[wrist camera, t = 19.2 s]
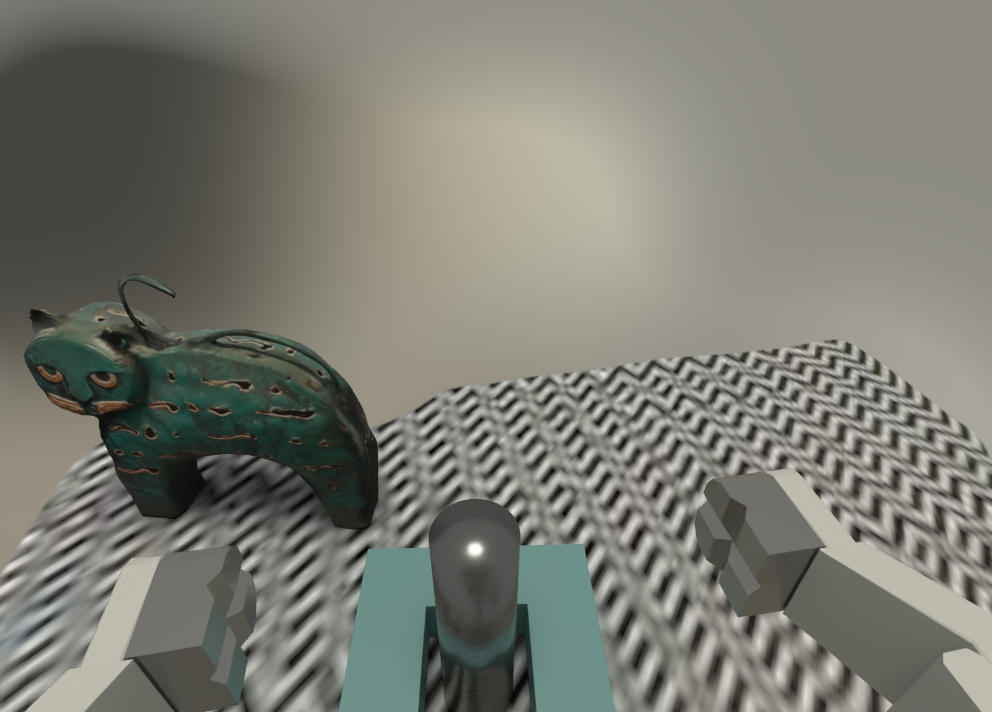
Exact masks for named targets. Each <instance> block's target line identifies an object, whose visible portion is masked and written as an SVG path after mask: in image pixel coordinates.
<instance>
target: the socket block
mask: <svg viewBox="0 0 992 712" xmlns="http://www.w3.org/2000/svg"><path fill="white" fill-rule="evenodd" d="M515 635H525V640H526V653H527V666H528V679H529V691H530V704H531V712H615V706H614V701H613V696H612V691H611V686H610V680H609V675H608V670H607V665H606V659H605V654H604V649H603V644H602V639H601V633H600V628H599V623H598V618H597V612H596V607H595V602H594V597H593V592H592V586H591V581H590V576H589V571H588V565H587V560H586V555H585V550H584V545H583V544H574V545H531V546H520V555H519V575H518V594H517V614H516V633H515ZM429 637H438V627H437V617H436V607H435V597H434V588H433V578H432V568H431V558H430V548H400V549H368V553H367V559H366V564H365V570H364V575H363V581H362V586H361V592H360V597H359V603H358V608H357V614H356V619H355V625H354V630H353V636H352V641H351V647H350V652H349V658H348V663H347V669H346V674H345V680H344V685H343V691H342V696H341V702H340V707H339V712H425V698H426V683H427V668H428V652H429Z"/></svg>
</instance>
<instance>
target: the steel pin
mask: <svg viewBox="0 0 992 712" xmlns="http://www.w3.org/2000/svg"><path fill="white" fill-rule="evenodd" d="M429 548H430V558H431V568H432V578H433V588H434V597H435V607H436V617H437V627H438V637H439V647H440V656H441V666H442V676H443V686H444V695H445V700H446V703H447V705H448V707H449V709H450V711H451V712H505V710H506V709H507V707H508V705H509V703H510V701H511V697H512V691H513V672H514V653H515V633H516V614H517V594H518V575H519V555H520V529H519V526H518V523H517V521H516V519H515V518H514V516H513V515H512V514H511V513H510V512H509V511H508V510H507V509H506V508H504V507H503V506H501V505H499V504H497V503H494V502H492V501H488V500H483V499H469V500H463V501H460V502H457V503H454V504H452V505H450V506H448V507H447V508H445V509H444V510H443V511H442V512H441V513H440V514H439V515H438V516H437V517H436V518H435V520H434V521H433V523H432V525H431V528H430V532H429Z"/></svg>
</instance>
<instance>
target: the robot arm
mask: <svg viewBox="0 0 992 712" xmlns="http://www.w3.org/2000/svg"><path fill="white" fill-rule="evenodd" d="M704 495H705V496H706V498H707V500H708V501H707V502H706V503H704V504H703V505H702V506H701V507H700V508H699V509H698V511H697V515H696V519H695V529H696V537H697V540H698V543H699V546H700V548H701V550H702V552H703V554H704V556H705V558H706V560H707V561H709V562H710V563H712V564H713V565H714V566H716V567H717V568H719V569H720V570H721V572H720V578H719V584H720V585H721V587H722V589H723V591H724V593H725V594H726V596H727V598H728V600H729V602H730V604H731V605H732V607H733V609H734V611H735V613H736V614H737V616H738V617H743V616H750V615H757V614H764V613H771V612H778V611H784V612H783V614H784V615H786V616H787V617H788V618H789V619H790V620H792V621H793V622H794V623H795V624H796V625H798V626H799V627H800V628H801V629H802V630H804V631H805V632H806V633H807V634H809V635H810V636H811V637H812V638H813V639H815V640H816V641H817V642H818V643H819V644H821V645H822V646H823V647H824V648H825V649H827V650H828V651H829V652H830V653H831V654H833V655H834V656H835V657H836V658H837V659H839V660H840V661H841V662H842V663H843V664H845V665H846V666H847V667H848V668H849V669H851V670H852V671H853V672H854V673H856V674H857V675H858V676H859V677H860V678H862V679H863V680H864V681H865V682H866V683H868V684H869V685H870V686H871V687H872V688H874V689H875V690H876V691H877V692H878V693H880V694H881V695H882V696H883V697H884V698H886V699H887V700H888V701H889V702H890V703H892V704H893V706H892V707H891V708H890V709H889V710H888V711H887V712H992V614H990V613H989V612H987V611H985V610H983V609H982V608H980V607H978V606H976V605H975V604H973V603H971V602H969V601H967V600H966V599H964V598H962V597H960V596H959V595H957V594H955V593H953V592H952V591H950V590H948V589H946V588H945V587H943V586H941V585H939V584H937V583H936V582H934V581H932V580H930V579H929V578H927V577H925V576H923V575H922V574H920V573H918V572H916V571H915V570H913V569H911V568H909V567H907V566H906V565H904V564H902V563H900V562H899V561H897V560H895V559H893V558H892V557H890V556H888V555H886V554H885V553H883V552H881V551H879V550H877V549H876V548H874V547H872V546H870V545H869V544H867V543H865V542H857V543H856V542H855V541H854V540H853V539H852V537H851V536H850V535H849V534H848V533H847V531H846V530H845V529H844V528H843V526H842V525H841V524H840V523H839V522H838V520H837V519H836V518H835V517H834V516H833V514H832V513H831V512H830V511H829V509H828V508H827V507H826V506H825V505H824V503H823V502H822V501H821V500H820V499H819V497H818V496H817V495H816V494H815V493H814V491H813V490H812V489H811V488H810V486H809V485H808V484H807V483H806V482H805V480H804V479H803V478H802V477H801V476H800V474H799V473H797V472H796V471H794V470H792V469H781V470H774V471H768V472H756V473H749V474H743V475H736V476H730V477H723V478H717V479H712V480H711V481H709V482H708V483H707V485H706V487H705V490H704ZM242 560H243V557H242V555H241V553H240V551H239V549H238V547H237V546H230V547H221V548H212V549H204V550H195V551H186V552H178V553H169V554H160V555H153V556H145V557H137V558H131V560H130V561H129V562H128V563H127V564H126V565H125V566H124V568H123V569H122V571H121V573H120V575H119V577H118V580H117V582H116V584H115V587H114V589H113V591H112V594H111V596H110V598H109V601H108V603H107V605H106V608H105V610H104V612H103V615H102V617H101V619H100V622H99V624H98V626H97V628H96V631H95V633H94V635H93V638H92V640H91V642H90V645H89V647H88V649H87V652H86V654H85V656H84V659H83V661H82V663H81V666H80V667H78V668H72V669H68V670H67V671H66V672H65V673H64V674H63V675H62V676H61V677H60V678H59V679H58V680H57V681H56V682H55V683H54V684H53V685H52V686H51V687H50V688H49V689H48V690H47V691H46V692H45V693H44V694H42V695H41V696H40V697H39V698H38V699H37V700H36V701H35V702H34V703H33V704H32V705H31V706H30V707H29V708H28V709H27V710H26V711H25V712H206V711H211V710H216V709H221V708H226V707H231V706H235V705H239V701H240V696H241V691H242V686H243V681H244V676H245V671H246V666H247V661H248V660H247V658H246V656H245V654H244V652H243V650H242V649H241V646H242V645H243V644H244V642H245V641H246V640H247V639H248V637H249V636H250V635H251V634H252V633H253V629H254V623H255V618H256V590H255V585H254V582H253V579H252V577H251V575H250V574H249V573H247V572H245V571H243V570H241V564H242Z"/></svg>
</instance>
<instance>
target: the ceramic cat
mask: <svg viewBox="0 0 992 712" xmlns="http://www.w3.org/2000/svg"><path fill="white" fill-rule="evenodd" d="M129 280H132V281H139V282H142V283H144V284H147V285H149V286H152V287H153V288H156V289H158V290H160V291H162V292H164V293H166V294H169V295H170V296H172V297H173V298H175V293H174V291H173V290H172V289H171V288H169V287H168V286H166V285H165V284H164V283H162V282H160V281H159V280H157V279H155V278H153V277H150V276H148V275H144V274H140V273H133V274H129V275H127V276H125V277H123V278H122V279H120V280H119V281H118V292H119V295H120V298H121V301H122V304H120V303H114V302H107V301H106V302H105V301H101V302H96V303H91V304H89V305H87V306H85V307H83V308H81V309H79V310H77V311H75V312H73V313H71V314H69V315H59V314H56V313H52V312H49V311H46V310H44V309H40V308H32V309H30V310H31V311H30V315H31V316H30V317H29V318H30V319H31V320H32V325H33V330H34V332H35V335H34V336H33V338H32V340H31V341H30V343H29V344H28V346H27V347H26V349H25V352H24V357H25V362H26V364H27V366H28V368H29V370H30V371H31V373H32V375H33V377H34V378H35V380H36V382H37V383H38V385H39V386H40V387H41V389H43V391H44V392H45V393H46V395H47V397H48V398H49V399H50V400H51V402H52V403H54V404H56V405H57V406H59V407H61V408H62V409H65V410H68V411H71V412H74V413H77V414H80V415H91V416H95V417H97V418H98V419H99V428H100V432H101V433H100V434H101V438H102V439H103V441H104V443H105V445H106V448H107V450H108V452H109V454H110V456H111V457H112V459H113V461H114V465H115V471H116V474H117V476H118V478H119V479H120V481H121V482H122V483H123V485H124V486H125V487H126V489H127V490H128V491H129V493H130V494H131V496H132V498H133V500H134V502H135V504H136V505H137V507H138V509H139V511H140V512H141V514H142V516H151V517H164V518H175V517H177V516H179V515H181V514H182V513H184V512H185V511H186V510H187V508H188V507H189V506H190V505H191V504H192V503H193V501H194V499H195V498H196V496H197V494H198V492H199V491H200V489H201V488H202V487H203V486H204V485H205V483H204V479H203V477H202V475H201V473H200V471H199V469H198V467H197V460H196V457H203V456H211V455H219V454H238V455H251V456H257V457H261V458H264V459H268V460H271V461H274V462H277V463H280V464H283V465H286V466H288V467H290V468H291V469H293V470H294V471H295V472H297V473H298V474H299V475H300V476H301V477H302V478H303V479H304V480H305V482H306V483H307V484H308V485H310V486H311V487H312V489H313V490H314V492H315V493H316V495H317V496H318V498H319V500H320V501H321V502H322V503H323V505H324V506H325V508H326V510H327V512H328V513H329V515H330V517H331V519H332V520H333V522H334V525H335V526H337V527H342V528H346V529H357V528H364V527H367V526H368V525H369V524H370V521H371V518H372V515H373V511H374V508H375V506H376V504H377V501H378V447H377V441H376V439H375V437H374V435H373V433H372V432H371V430H370V428H369V426H368V423H367V420H366V416H365V413H364V411H363V408H362V406H361V404H360V403H359V401H358V399H357V397H356V396H355V394H354V392H353V390H352V388H351V387H350V385H349V384H348V383H347V382H346V380H345V379H344V378H343V377H342V376H341V375H340V374H339V373H338V372H337V371H336V370H334V369H333V368H332V367H331V366H329V365H328V364H327V363H326V362H325V360H323V359H322V358H321V357H320V356H319V355H317V354H316V353H315V352H314V351H312V350H311V349H309V348H307V347H306V346H304V345H302V344H301V343H298V342H295V341H292V340H290V339H287V338H284V337H281V336H277V335H273V334H269V333H264V332H257V331H251V330H238V329H234V330H232V329H206V330H197V331H191V332H184V333H174V332H171V331H169V330H167V329H166V328H165V327H163V326H162V325H161V324H159V323H158V322H156V321H154V320H153V319H152V318H150V317H148V316H146V315H145V314H143V313H141V312H140V311H137V310H135V309H134V308H131V307H129V306H128V305H127V303H126V301H125V297H124V293H123V287H124V286H125V284H126V283H127V282H128V281H129Z"/></svg>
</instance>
